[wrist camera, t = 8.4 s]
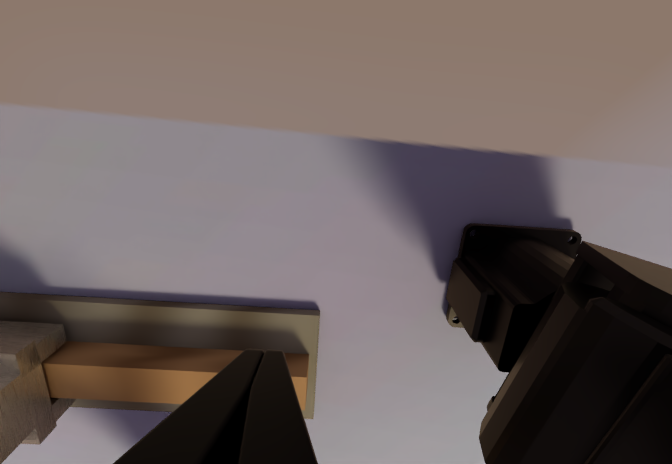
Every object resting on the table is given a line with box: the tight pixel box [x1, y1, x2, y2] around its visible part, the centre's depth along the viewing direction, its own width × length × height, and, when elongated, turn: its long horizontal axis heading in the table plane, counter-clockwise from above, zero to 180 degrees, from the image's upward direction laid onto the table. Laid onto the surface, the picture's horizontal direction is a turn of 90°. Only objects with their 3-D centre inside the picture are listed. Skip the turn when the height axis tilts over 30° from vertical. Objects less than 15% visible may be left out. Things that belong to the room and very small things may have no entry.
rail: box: [0, 292, 320, 419], centre depth 20 cm, size 22×8×5 cm, turn 86°
